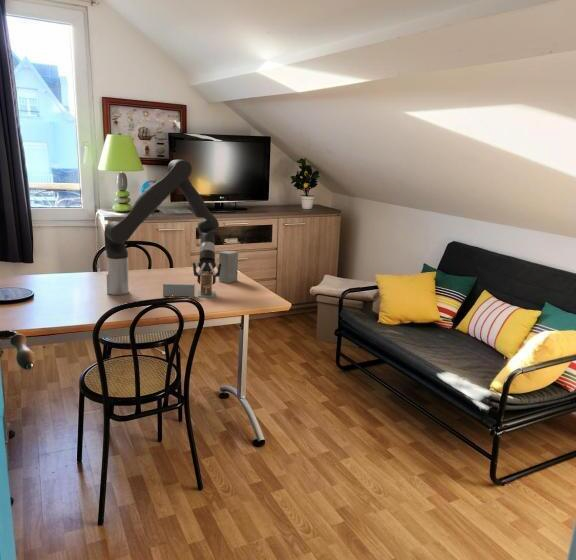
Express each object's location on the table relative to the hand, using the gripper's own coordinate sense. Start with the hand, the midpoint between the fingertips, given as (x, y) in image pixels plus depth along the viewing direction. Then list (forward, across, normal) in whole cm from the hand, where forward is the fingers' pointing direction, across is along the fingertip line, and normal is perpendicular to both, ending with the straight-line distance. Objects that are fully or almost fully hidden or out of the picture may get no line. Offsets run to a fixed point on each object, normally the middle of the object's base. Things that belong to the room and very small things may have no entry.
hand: (206, 283), depth 248 cm
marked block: (+3, 0, +5) cm, 6 cm away
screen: (+6, -13, +3) cm, 14 cm away
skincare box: (-14, +11, +24) cm, 30 cm away
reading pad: (+3, 0, +6) cm, 7 cm away
